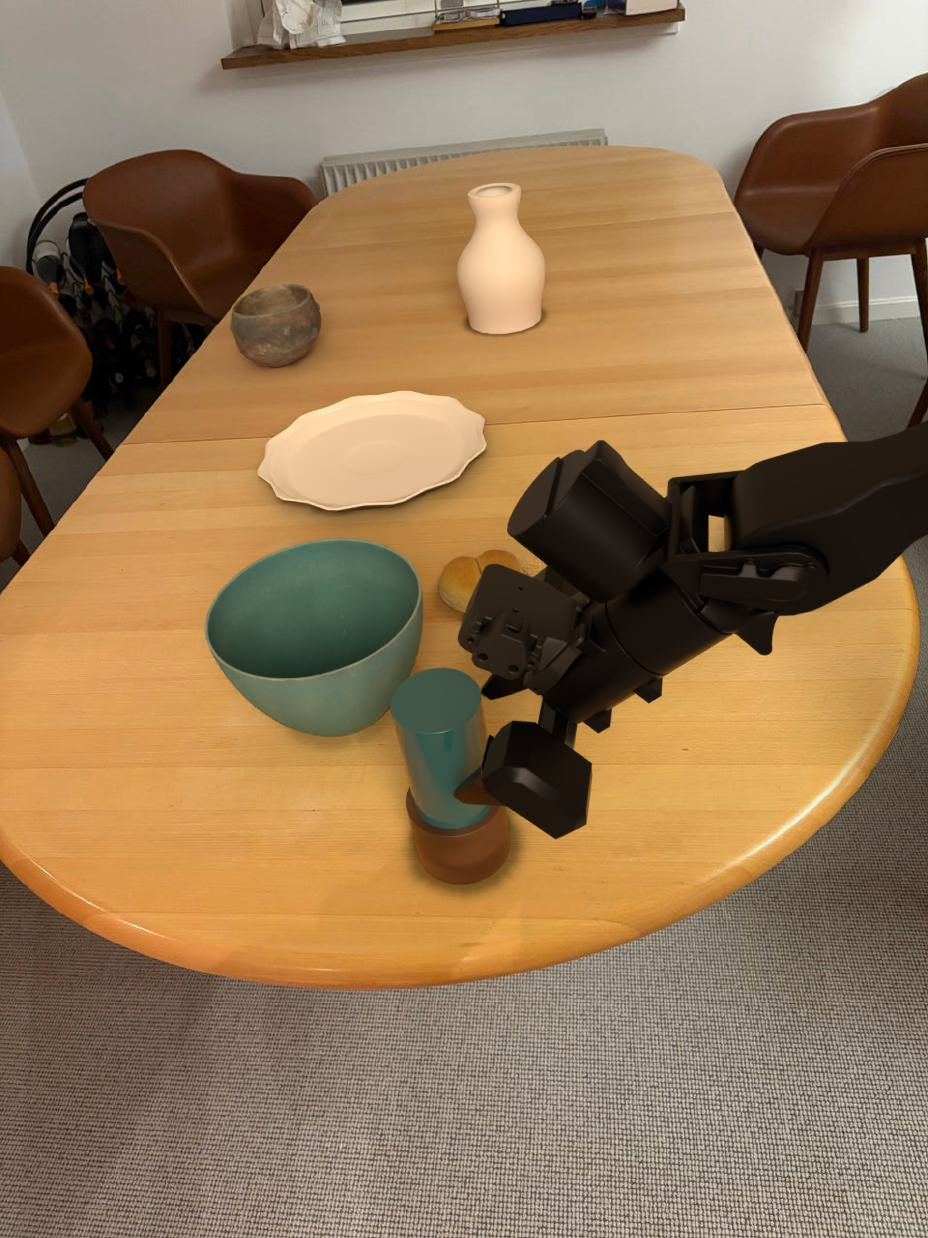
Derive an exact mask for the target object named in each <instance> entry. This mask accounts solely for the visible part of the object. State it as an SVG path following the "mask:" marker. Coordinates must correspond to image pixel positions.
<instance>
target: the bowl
mask: <svg viewBox="0 0 928 1238" xmlns="http://www.w3.org/2000/svg"><path fill="white" fill-rule="evenodd" d="M320 310H321V306H320V304H319V302H317V301H316V300H315V297H314V295H313V293H312V291H311V290H310V289H309V288H308V287H306V286H304V285H301V284H294V283H287V284H277V285H275V286H266V287H265V286H264V287H261V288H259V289H256V290H253V291H250V292H249V293H247V294H246V295H244V296H242V297H241V298H239V300H238V301H236V302H235V304H234V305H233V308H232V311H231V319H230V324H229V331H230V332H231V333H232V336H233V339H234V342H235V344H236V346H237V349H238V350H239V352H240V354H241V355H243V356H244V357H245V358H246V359H248V360H250V361H251V362H254V363H256V364H259V365H261V366H264V367H269V368H281V367H284V366H287V365H290V364H293V363H294V362H296V361H298V360H299V359H302V358H303V357H305V356H306V355H307V354H308V353H309V352H310V350H311V349H312V348H313V346H314V344H315V343H316V341H317V340H318V337H319V335H320V333H321V328H322V315H321V311H320Z"/></svg>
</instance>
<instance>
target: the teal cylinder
mask: <svg viewBox="0 0 928 1238" xmlns="http://www.w3.org/2000/svg"><path fill="white" fill-rule="evenodd" d="M482 697H483V695H482V694H481V688H480V686H479V683H478V682H477V681H476V680H475V679H474V678H473V677H472V676H471V675H470V674H468V673H466V672H465V671H462V670H459V669H456V668H450V667H432V668H427V669H423V670H420V671H417V672H416V673H414V674H411V675H410V677H408V678H407V679H405V680H404V681H403V682H402V683H401V684H400V685H399V686H398V687H397V688H396V690H395V692H394V693H393V696H392V698H391V704H390V713H391V717H392V720H393V725H394V729H395V733H396V737H397V741H398V746H399V749H400V753H401V757H402V763H403V765H404V770H405V773H406V777H407V782H408V787H409V786H410V790H411V794H412V798H413V802H414V806H415V809H416V811H417V813H418V815H419V816H420V817H421V818H422V819H423V820H424V821H425V822H427V823H428V824H430V825H432V826H435V827H438V828H442V829H459V828H464V827H467V826H470V825H472V824H474V823H476V822H478V821H479V820H480V819H482V818H483V817H484V816H485V815H486V814H487V813H488V812H489V810H490V809H491V807H492V806H490V805H474V804H464V803H462V802H461V801H459V800H458V799H456V798H455V797H454V796H453V793H454V790H455V789H456V788H457V787H458V786H459V785H460V784H461V783H462V782H463V781H464V780H465V779H466V778H467V777H469V776H470V775H471V774H472V773H473V772H474V771H476V770H477V769H478V768H479V767H480V766H481V765H482V760H483V756H484V752H485V748H486V744H487V740H488V731H487V724H486V718H485V711H484V704H483V698H482Z"/></svg>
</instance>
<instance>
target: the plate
mask: <svg viewBox="0 0 928 1238" xmlns="http://www.w3.org/2000/svg"><path fill="white" fill-rule="evenodd" d="M485 424H486V419H485V417H483V415H481V414H480V413H478V412H475V411H473V410H471V409H469V408H467V407H466V406H465V405H464V404H462V403H461V402H460V400H459V399H457V398H456V397H451V396H447V395H446V396H445V395H432V394H425V393H420V392H417V391H412V390H398V391H397V390H396V391H392V392H387V393H381V394H369V395H355V396H351V397H347V398H344V399H342V400H339V401H337V402H335V403H333V404H331V405H329V406H326V407H322V408H319V409H316V410H312V411H309V412H305V413H304V414H302V415H300V416H299V417H297V418H296V419H295V420H294V421H293V422H292V423H291V424H290V425H289V426H288V427H287V428H286V429H284V430H283V431H281V432H280V433H278V434H276V435H274V436H273V437H272V438H270V439H269V440H268V441H267V442H266V443H265V444H264V457H263V459H262V461H261V463H260V465H259V466H258V467H257V470H256V471H257V476H258V477H259V478H260V479H262V480H263V481H264V482H265V483H267V484H268V485H270V486H271V489H272V490H273V493H274V494H275V496H276V498H277V499H279V500H281V501H283V502H286V503H287V502H288V503H297V504H304V505H309V506H312V507H315V508H317V509H320V510H323V511H326V512H335V513H336V512H337V513H338V512H343V511H350V510H351V511H353V510H355V511H356V510H372V509H378V508H384V507H385V508H386V507H393V506H397V505H401V504H404V503H406V502H408V501H409V500H413V499H416V498H419V497H421V496H423V495H425V494H427V493H430V492H433V491H435V490H437V489H439V488H443V487H445V486H447V485H449V484H452V483H453V482H455V481H457V480H458V479H460V477H461V476H462V475H463V474H464V472H465V470H466V469H467V467H468V466H469V465H470V464H471V463H472V462H473V461H475V460H476V459H477V458H478V457H480V456H481V455H482V454H484V452H485V451H486V449H487V447H488V444H487V440H486V438H485V436H484V429H485Z"/></svg>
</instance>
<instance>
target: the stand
mask: <svg viewBox="0 0 928 1238" xmlns="http://www.w3.org/2000/svg"><path fill="white" fill-rule="evenodd" d="M405 808H406V813H407V816H408V821H409V824H410V828H411V832H412V835H413V841H414V843H415V847H416V851H417V855H418V856H417V857H418V859H419V861H420V864H421V865H422V867H423V868H424V870H425V871H426V872H427V873H428V874H429V875H430V876H432V878H434V879H436V880H438V881H439V882H442V883H446V884H447V885H448V884H449V885H456V886H466V885H467V886H468V885H473V884H476V883H480V882H482V881H484V880H487V879H488V878H490V877H491V876H493V875H494V874H495V873H497V872H498V871H499V870H500V869H501V868H502V866H503V865H504V864H505V862H506V860H507V859H508V856H509V854H510V850H511V842H512V841H511V832H510V826H509V819H508V817H509V816H508V811H507V807H505V806H492V807H491V809H490V810H489V812H488V813H487V814H486V815H485V816H484V817H483V818H482V819H480V820H479V821H478V822H476V823H474V824H472V825H470V826H467V827H464V828H459V829H442V828H438V827H435V826H432V825H430V824H428V823H427V822H425V821H424V820H423V819H422V818H421V817H420V816H419V815H418V813H417V811H416V809H415V806H414V802H413V798H412V794H411V790H410V786H409V785H408V788H407V791H406V795H405Z"/></svg>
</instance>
